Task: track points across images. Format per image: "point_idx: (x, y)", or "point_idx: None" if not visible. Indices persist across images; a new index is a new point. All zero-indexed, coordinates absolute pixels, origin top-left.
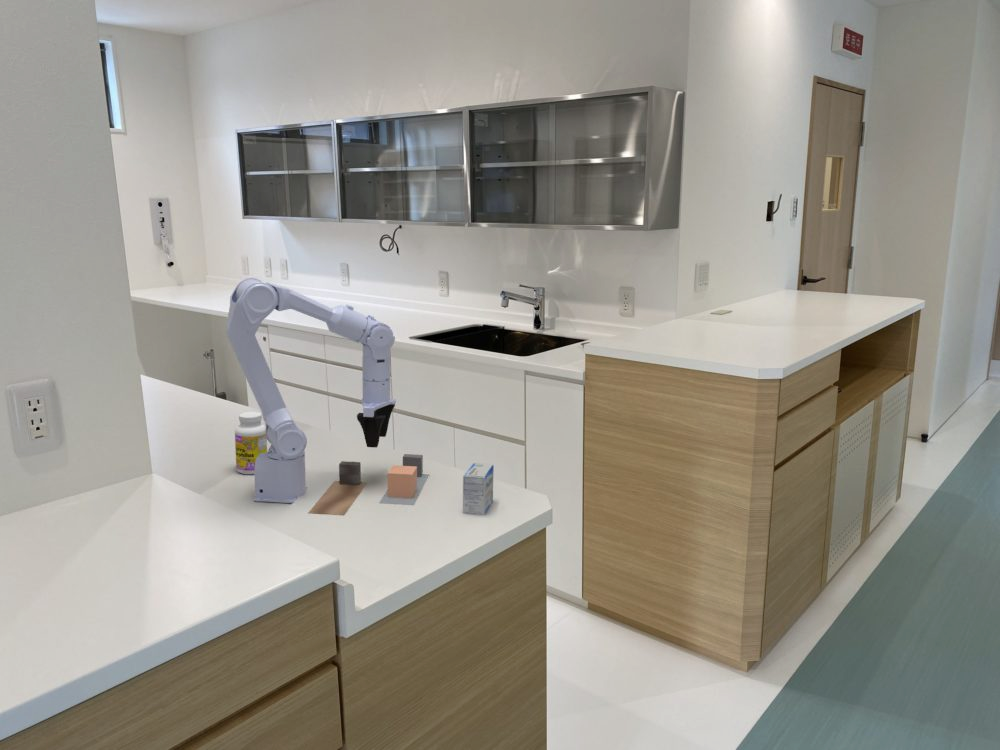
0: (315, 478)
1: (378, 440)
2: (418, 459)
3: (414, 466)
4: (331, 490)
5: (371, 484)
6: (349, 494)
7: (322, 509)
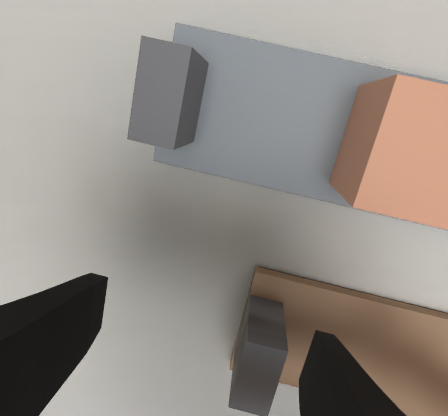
0: (171, 408)
1: (351, 357)
2: (191, 63)
3: (396, 89)
4: None
5: (235, 252)
6: (370, 330)
7: None
